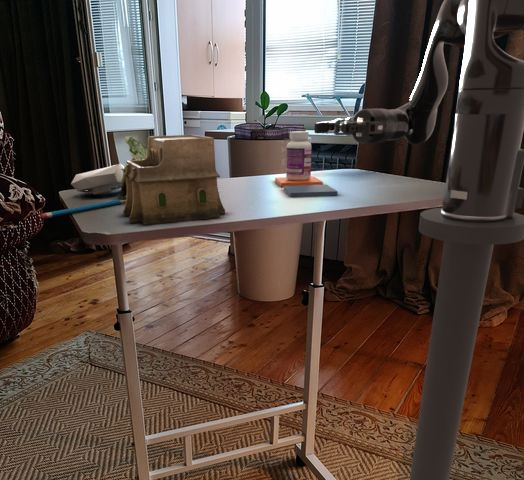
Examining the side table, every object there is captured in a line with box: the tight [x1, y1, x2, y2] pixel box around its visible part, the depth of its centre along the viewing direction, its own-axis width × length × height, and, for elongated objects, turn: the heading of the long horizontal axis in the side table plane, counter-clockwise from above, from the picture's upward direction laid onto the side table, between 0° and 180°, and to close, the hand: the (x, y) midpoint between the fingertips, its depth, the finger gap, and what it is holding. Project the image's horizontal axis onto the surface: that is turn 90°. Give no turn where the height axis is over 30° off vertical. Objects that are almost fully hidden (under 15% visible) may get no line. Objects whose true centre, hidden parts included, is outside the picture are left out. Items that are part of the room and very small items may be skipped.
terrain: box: [124, 135, 148, 160], centre depth 91 cm, size 15×9×2 cm
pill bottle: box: [285, 130, 312, 181], centre depth 108 cm, size 5×5×10 cm
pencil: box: [40, 199, 126, 220], centre depth 85 cm, size 1×17×1 cm, turn 143°
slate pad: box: [283, 184, 338, 198], centre depth 98 cm, size 9×9×1 cm
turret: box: [70, 163, 126, 196], centre depth 103 cm, size 10×20×5 cm, turn 169°
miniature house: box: [122, 134, 226, 226], centre depth 79 cm, size 15×14×11 cm
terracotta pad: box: [274, 176, 324, 188], centre depth 110 cm, size 9×9×1 cm
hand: (329, 128), depth 111 cm, fingers open, 8 cm apart
